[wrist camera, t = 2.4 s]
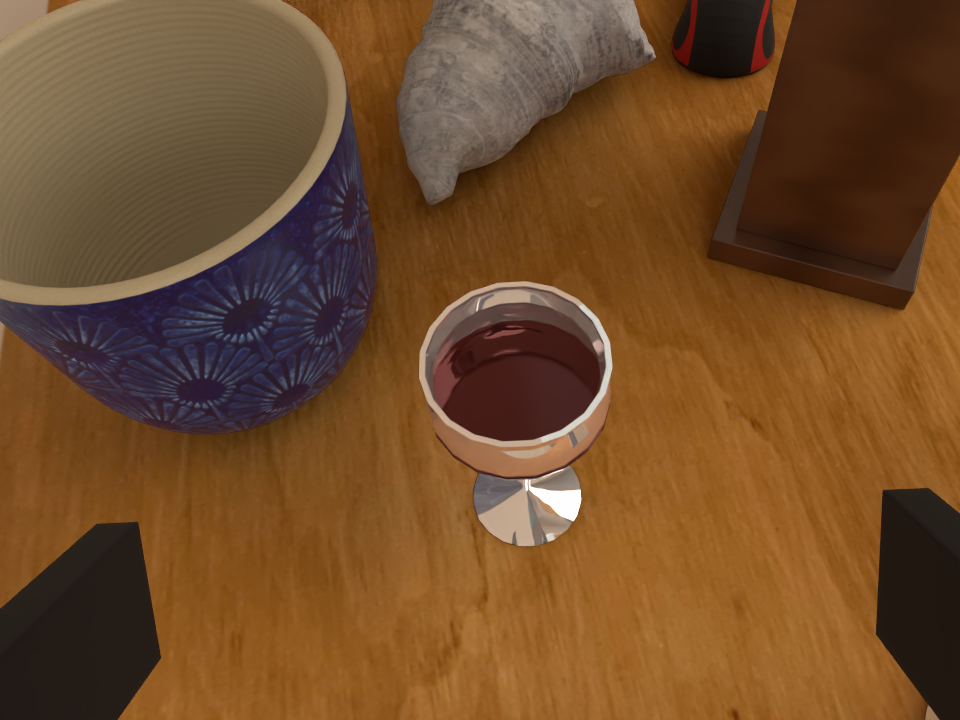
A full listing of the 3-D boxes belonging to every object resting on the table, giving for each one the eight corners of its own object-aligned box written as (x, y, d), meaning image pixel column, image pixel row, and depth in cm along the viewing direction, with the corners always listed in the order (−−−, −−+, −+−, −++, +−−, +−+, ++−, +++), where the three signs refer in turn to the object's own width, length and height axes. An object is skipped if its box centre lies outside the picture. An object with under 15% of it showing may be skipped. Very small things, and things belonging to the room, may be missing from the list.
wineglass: (582, 416, 42) (588, 264, 31) (617, 550, 38) (637, 427, 28) (444, 442, 41) (405, 298, 31) (466, 579, 38) (430, 467, 28)
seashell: (423, 235, 48) (394, 96, 40) (379, 67, 56) (346, -80, 47) (697, 170, 49) (726, 20, 41) (616, 13, 57) (626, -140, 48)
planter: (241, 554, 39) (83, 392, 26) (26, 367, 46) (-187, 163, 33) (473, 304, 45) (437, 73, 32) (254, 171, 52) (151, -67, 39)
